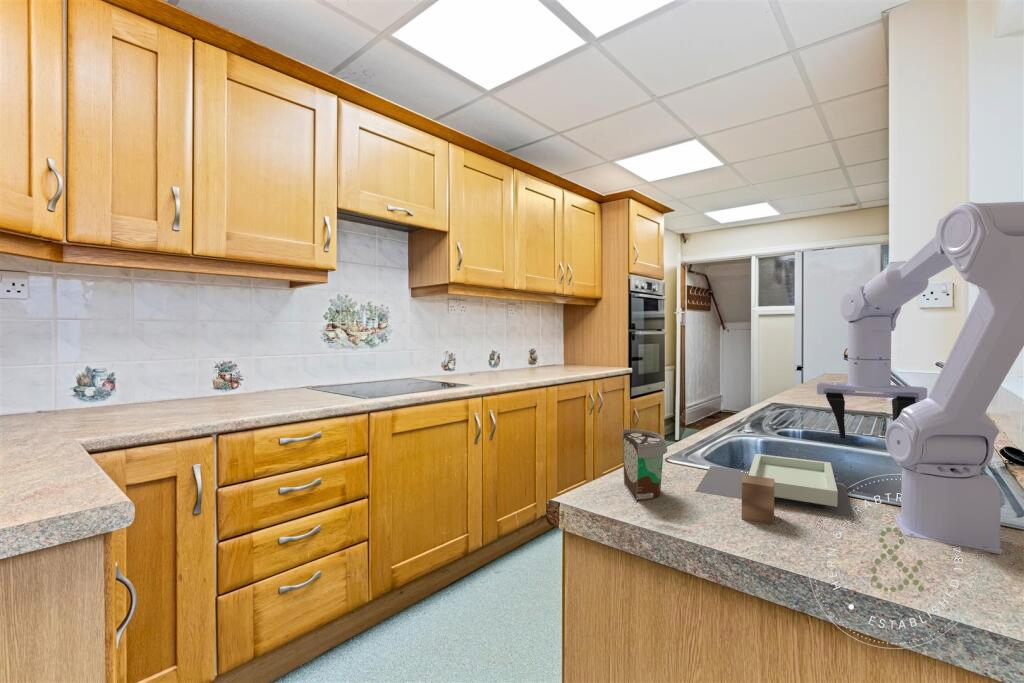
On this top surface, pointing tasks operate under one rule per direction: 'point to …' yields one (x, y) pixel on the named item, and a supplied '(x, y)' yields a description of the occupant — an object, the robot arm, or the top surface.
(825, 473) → the pale green tray
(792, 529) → the top surface
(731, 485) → the mat
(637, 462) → the food container
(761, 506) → the walnut block
